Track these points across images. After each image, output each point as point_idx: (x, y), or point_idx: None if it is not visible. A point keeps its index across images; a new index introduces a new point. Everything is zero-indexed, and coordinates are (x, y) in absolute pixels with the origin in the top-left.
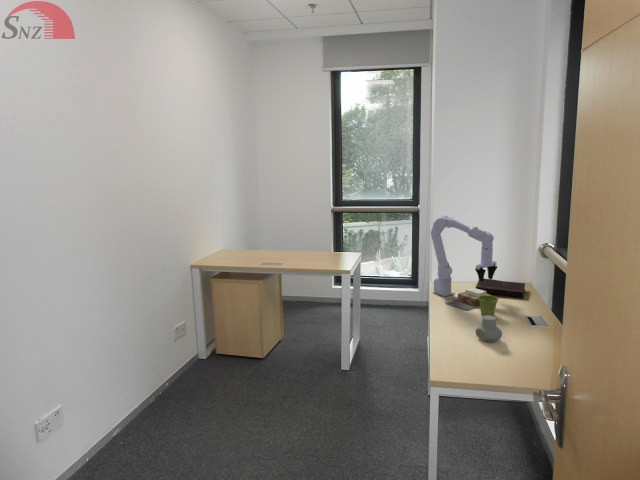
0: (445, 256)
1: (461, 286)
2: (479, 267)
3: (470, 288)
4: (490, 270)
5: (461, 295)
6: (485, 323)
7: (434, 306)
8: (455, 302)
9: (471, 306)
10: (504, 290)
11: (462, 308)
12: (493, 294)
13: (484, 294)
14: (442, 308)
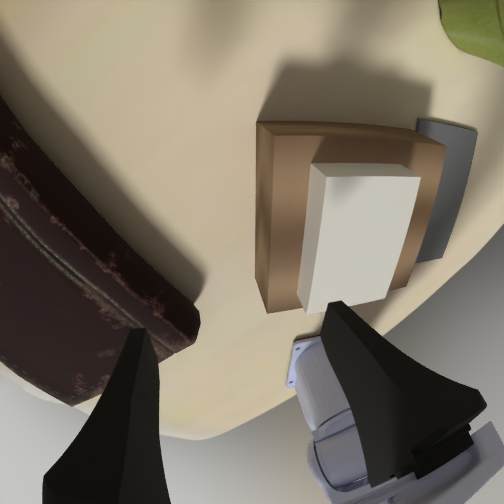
0: None
1: (168, 392)
2: (498, 446)
3: None
4: (148, 457)
5: (412, 261)
6: None
7: (476, 252)
8: None
9: None
10: (32, 189)
11: (468, 162)
12: (109, 227)
13: (341, 166)
14: (484, 220)
